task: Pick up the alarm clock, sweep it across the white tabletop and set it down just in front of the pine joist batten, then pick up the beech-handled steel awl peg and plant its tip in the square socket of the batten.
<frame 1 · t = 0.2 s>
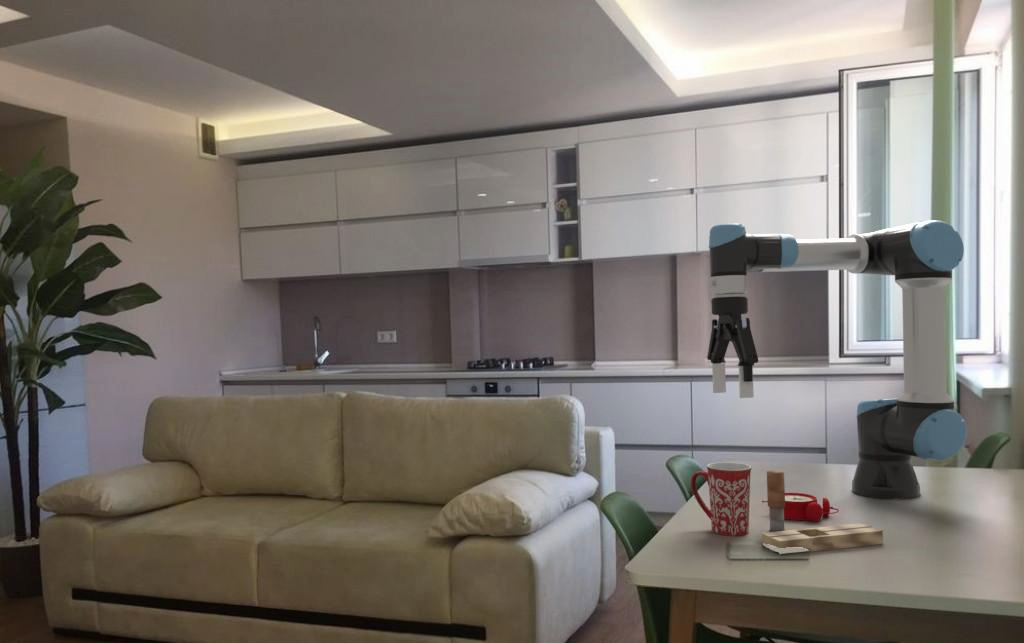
hand: (732, 395, 166), 27 cm above the table, fingers open, 13 cm apart
alarm clock: (802, 517, 170), on the table
mug: (722, 531, 160), on the table
awl: (777, 530, 158), on the table
joist batten: (822, 544, 147), on the table
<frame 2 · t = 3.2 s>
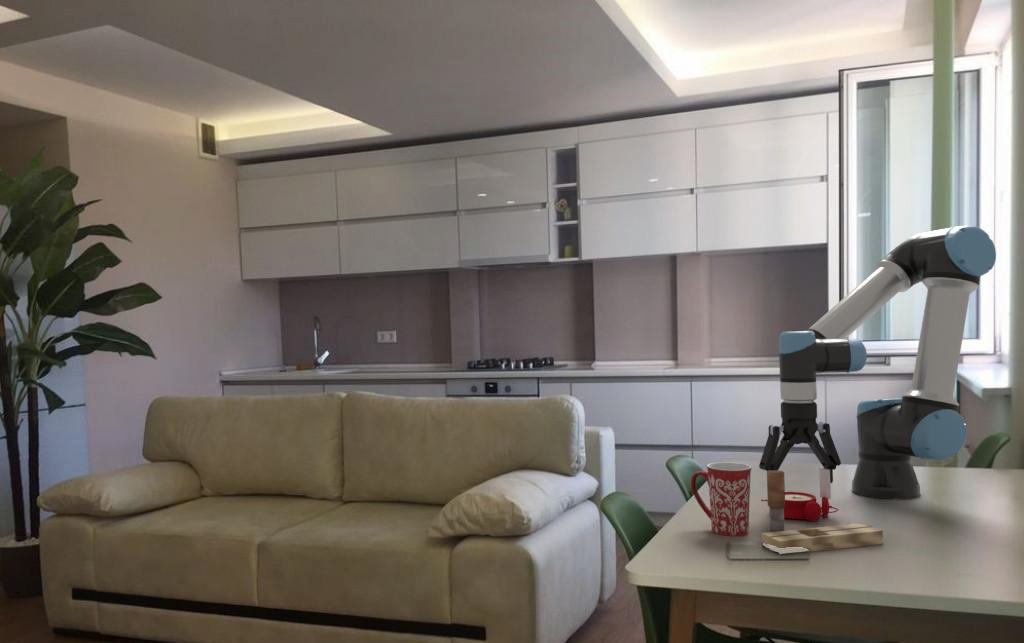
hand: (801, 500, 170), 3 cm above the table, fingers closed on alarm clock, 11 cm apart
alarm clock: (801, 516, 170), on the table, touching gripper
everything else where it was.
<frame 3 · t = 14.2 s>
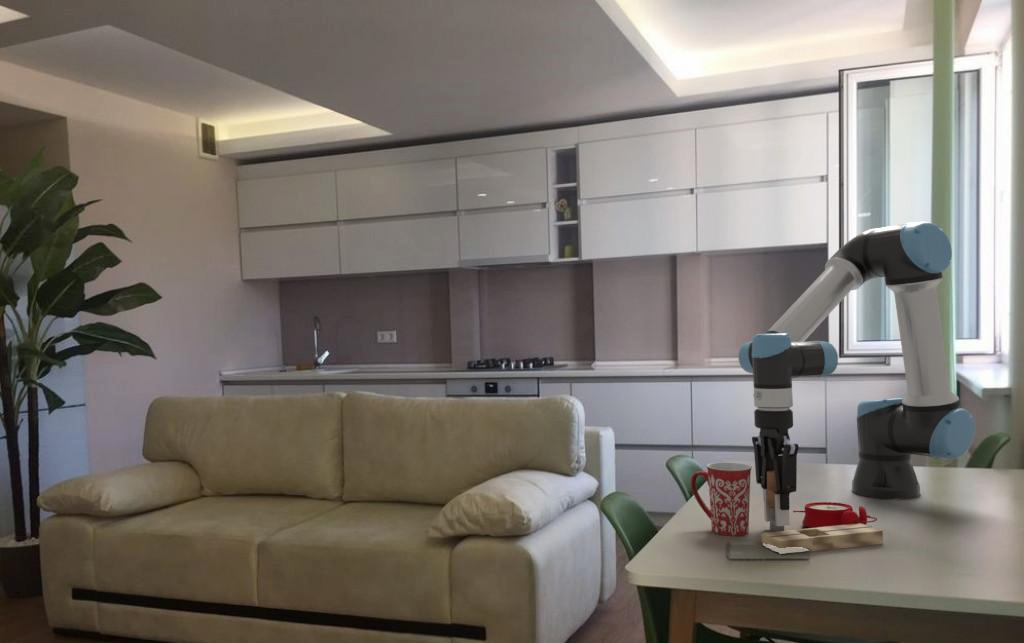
hand: (776, 522, 158), 2 cm above the table, fingers closed on awl, 3 cm apart
alarm clock: (837, 528, 158), on the table, touching joist batten
awl: (777, 530, 158), on the table, touching gripper
everything else where it was.
when the fingers open (4 cm above the table, at t = 20.1 s): awl drops 2 cm, resting in joist batten.
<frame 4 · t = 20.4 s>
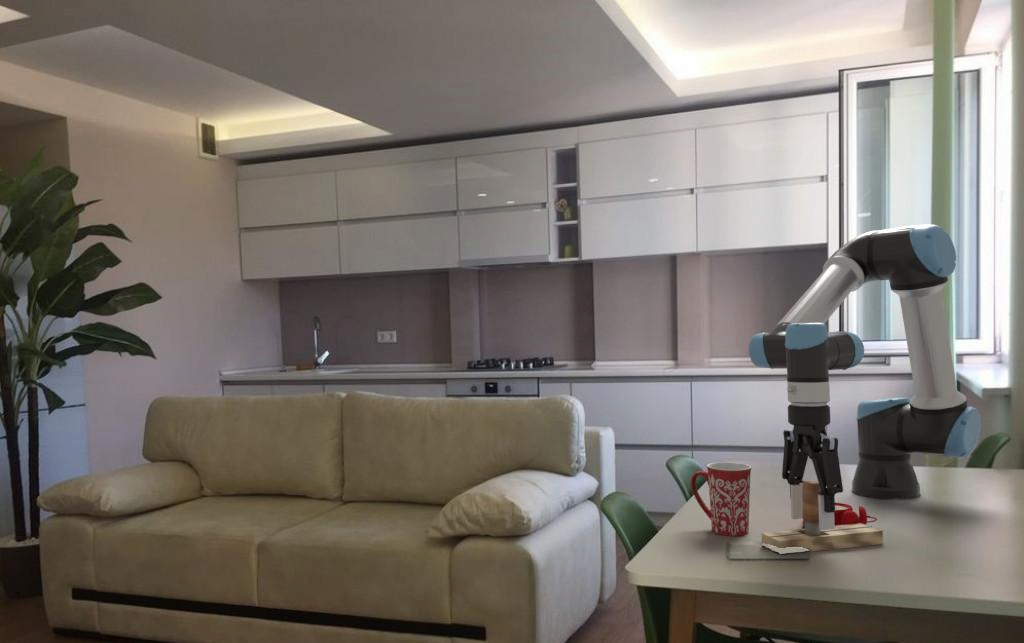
hand: (812, 523, 147), 4 cm above the table, fingers open, 8 cm apart
awl: (812, 545, 147), resting in joist batten
everything else where it was.
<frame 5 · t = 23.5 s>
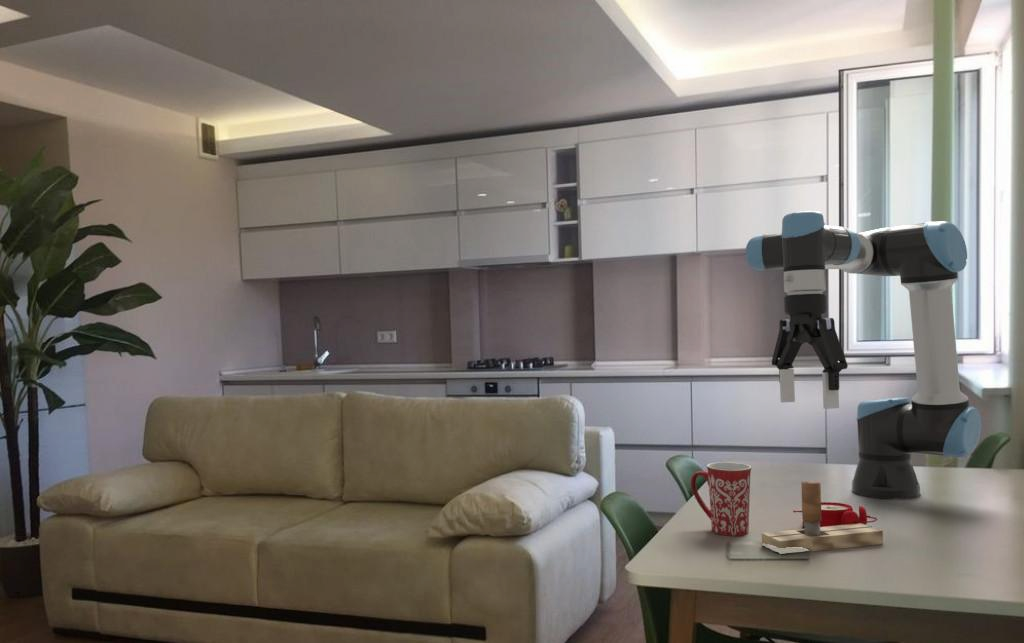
hand: (808, 405, 147), 27 cm above the table, fingers open, 13 cm apart
nothing on the table moved.
at the end: alarm clock moved 12.1 cm from its start; alarm clock inside the target area (4.1 cm from its centre), on the table; awl 0.1 cm from the target spot on the joist batten, point 0.0 cm above the joist batten's base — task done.
